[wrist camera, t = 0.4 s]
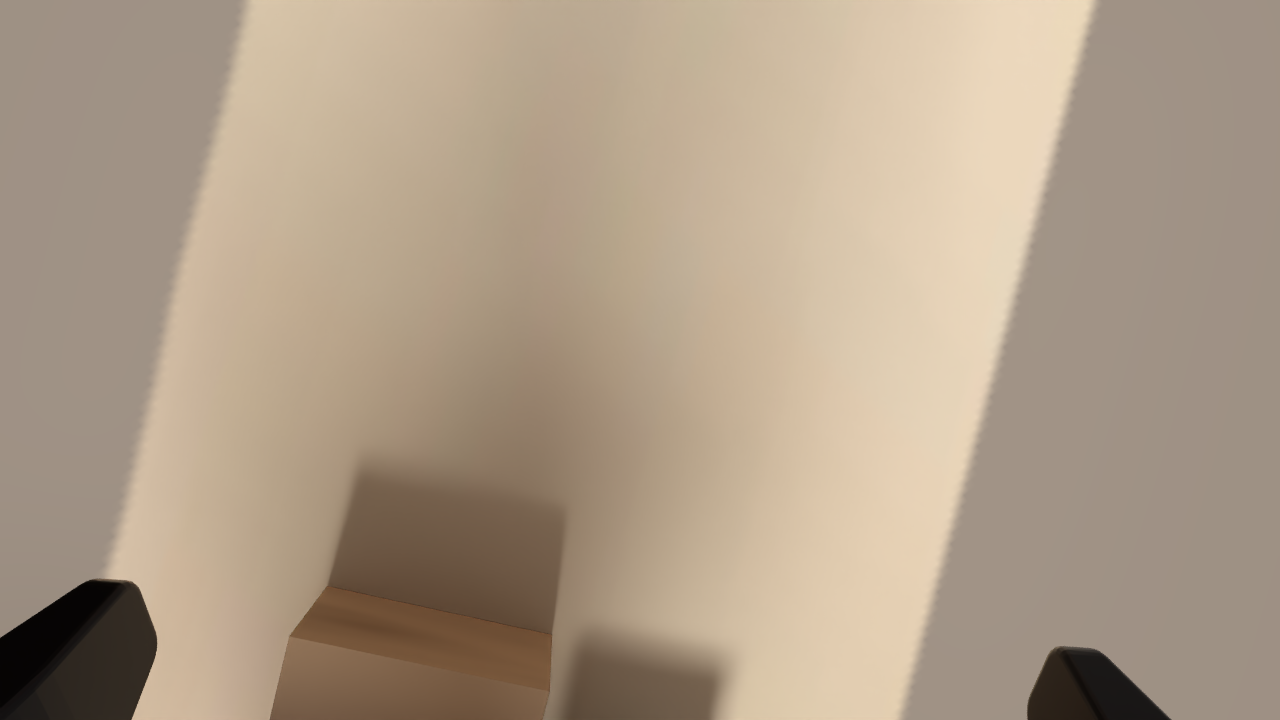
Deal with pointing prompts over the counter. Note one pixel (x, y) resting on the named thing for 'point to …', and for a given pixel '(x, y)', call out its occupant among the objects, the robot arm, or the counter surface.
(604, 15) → the counter surface
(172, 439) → the counter surface
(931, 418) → the counter surface
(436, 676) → the brown square block
